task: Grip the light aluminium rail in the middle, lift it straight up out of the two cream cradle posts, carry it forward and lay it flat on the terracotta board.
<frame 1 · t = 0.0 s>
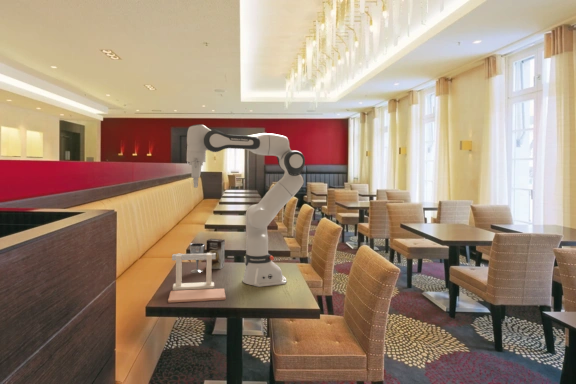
hand: (195, 186, 177), 48 cm above the table, tool pointing down, fingers open, 8 cm apart
wine glass: (197, 271, 201), on the table
terracotta board: (197, 296, 163), on the table
coffee box: (215, 267, 210), on the table
cradle stand: (193, 287, 175), on the table
aluminium rail: (194, 259, 174), point 14 cm above the table, touching cradle stand
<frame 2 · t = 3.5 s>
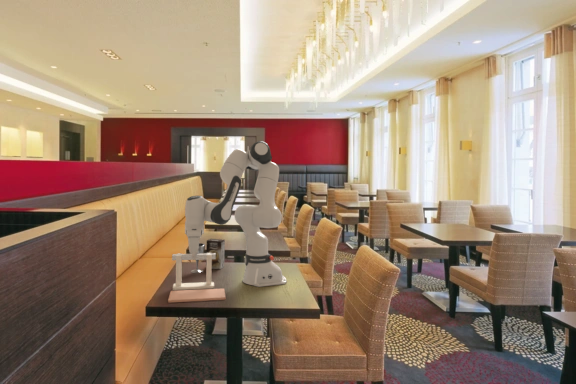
hand: (194, 258, 174), 14 cm above the table, tool pointing down, fingers closed on aluminium rail, 2 cm apart
aluminium rail: (194, 259, 174), point 14 cm above the table, touching cradle stand, gripper
everything else where it was.
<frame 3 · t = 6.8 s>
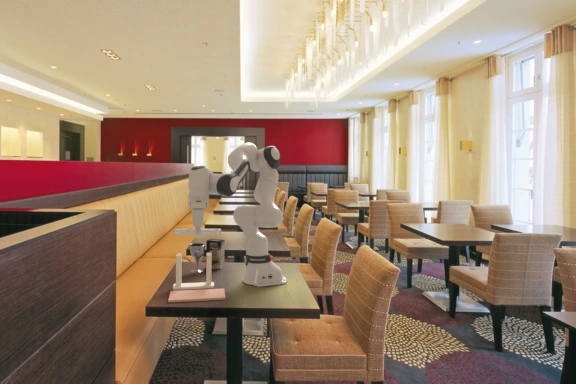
hand: (198, 233, 161), 28 cm above the table, tool pointing down, fingers closed on aluminium rail, 2 cm apart
aluminium rail: (198, 234, 161), point 28 cm above the table, touching gripper
everything else where it was.
when the fingers open (3 cm above the table, at t = 10.2 s): aluminium rail drops 2 cm, resting on terracotta board.
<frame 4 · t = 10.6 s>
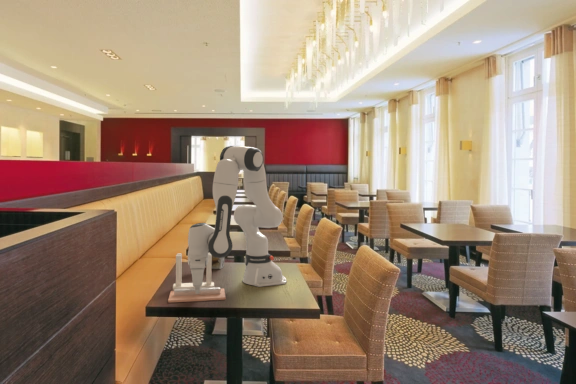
hand: (197, 290, 162), 3 cm above the table, tool pointing down, fingers open, 7 cm apart
aluminium rail: (197, 294, 162), point 1 cm above the table, touching terracotta board
everything else where it was.
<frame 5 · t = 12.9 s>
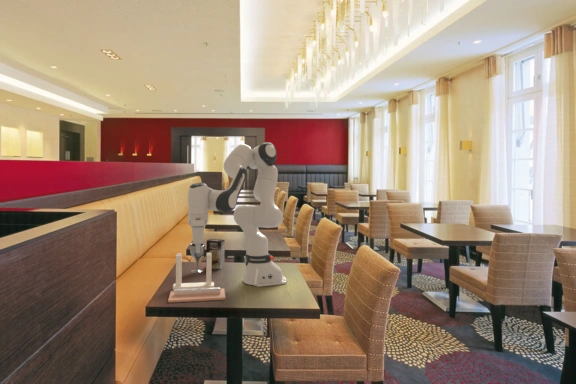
hand: (198, 249, 164), 20 cm above the table, tool pointing down, fingers open, 8 cm apart
nothing on the table moved.
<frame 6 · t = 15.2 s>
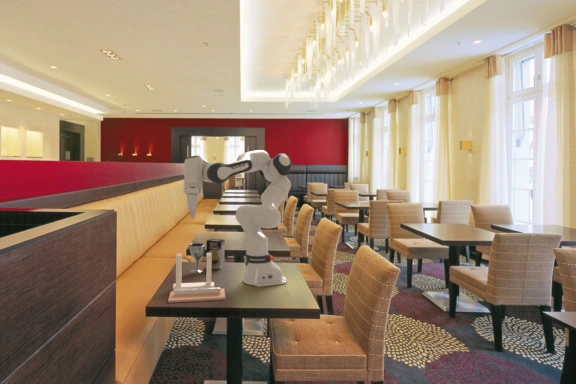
hand: (192, 217, 177), 33 cm above the table, tool pointing down, fingers open, 8 cm apart
nothing on the table moved.
at the end: aluminium rail inside the target area on the terracotta board (0.0 cm from its centre), point 1.0 cm above the terracotta board's base; aluminium rail tilted 0°; the gripper is holding nothing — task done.
